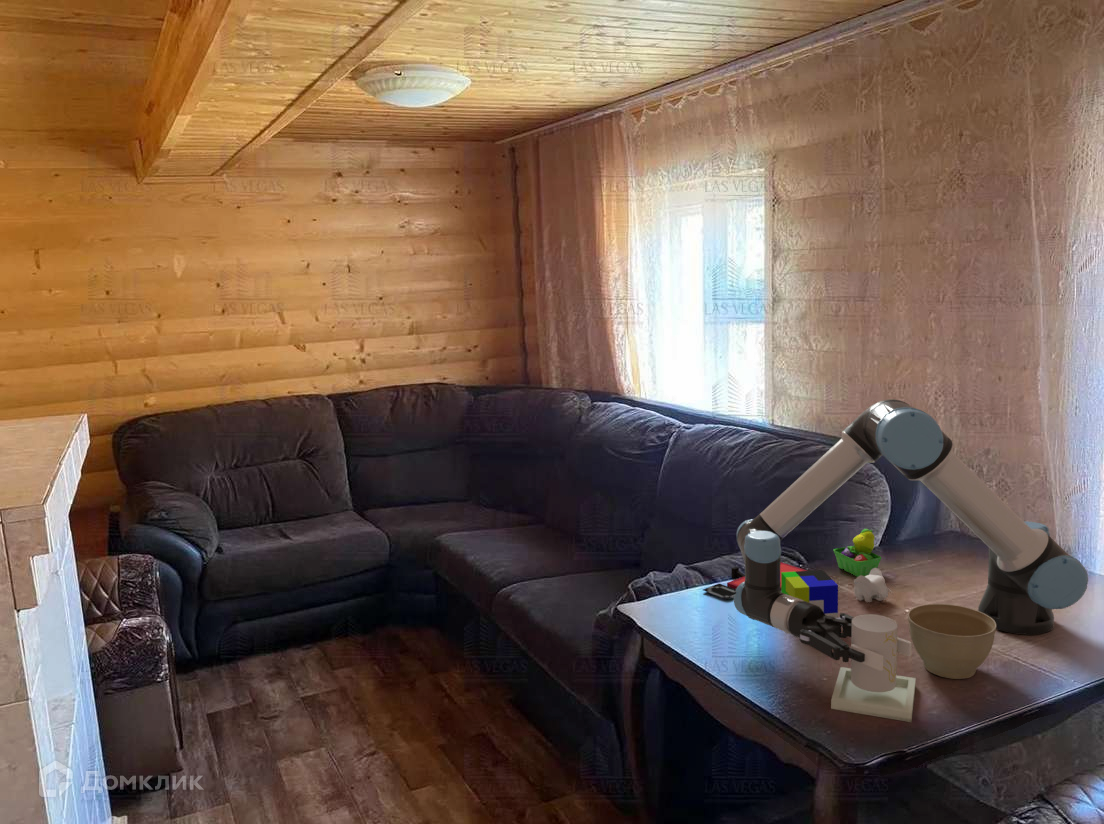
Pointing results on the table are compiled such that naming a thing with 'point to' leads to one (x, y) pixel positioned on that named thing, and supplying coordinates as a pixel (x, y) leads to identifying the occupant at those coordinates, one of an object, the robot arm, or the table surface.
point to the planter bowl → (951, 638)
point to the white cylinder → (881, 640)
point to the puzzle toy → (812, 589)
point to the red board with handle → (730, 592)
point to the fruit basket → (858, 555)
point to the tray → (874, 698)
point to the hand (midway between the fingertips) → (896, 656)
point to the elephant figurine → (871, 586)
